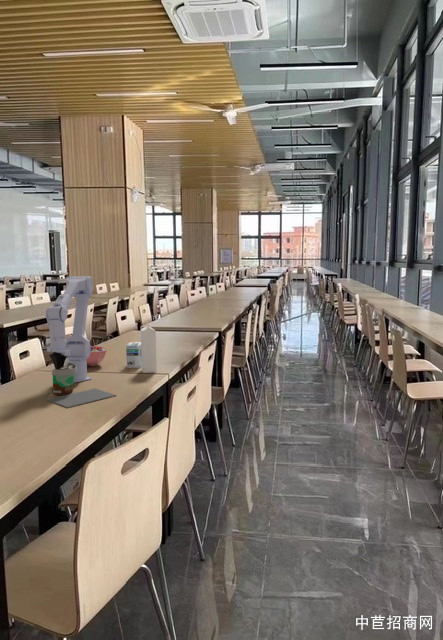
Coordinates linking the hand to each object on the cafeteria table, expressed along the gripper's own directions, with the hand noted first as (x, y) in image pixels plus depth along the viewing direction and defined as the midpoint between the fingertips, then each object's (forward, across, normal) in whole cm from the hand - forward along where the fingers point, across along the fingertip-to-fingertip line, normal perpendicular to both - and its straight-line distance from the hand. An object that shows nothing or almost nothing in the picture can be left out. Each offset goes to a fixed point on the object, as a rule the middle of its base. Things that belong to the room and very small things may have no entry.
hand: (59, 371), depth 190 cm
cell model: (+8, -31, +31) cm, 45 cm away
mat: (+8, +16, 0) cm, 17 cm away
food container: (+7, +5, 0) cm, 9 cm away
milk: (+8, 0, +44) cm, 45 cm away
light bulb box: (+8, -14, +47) cm, 50 cm away
